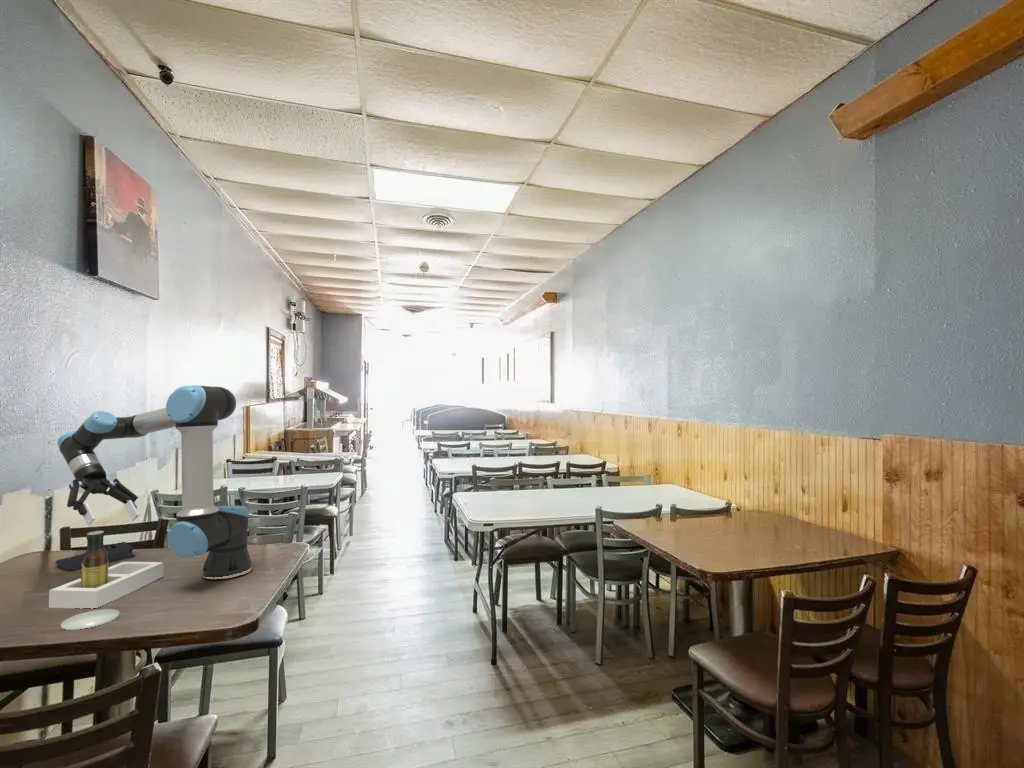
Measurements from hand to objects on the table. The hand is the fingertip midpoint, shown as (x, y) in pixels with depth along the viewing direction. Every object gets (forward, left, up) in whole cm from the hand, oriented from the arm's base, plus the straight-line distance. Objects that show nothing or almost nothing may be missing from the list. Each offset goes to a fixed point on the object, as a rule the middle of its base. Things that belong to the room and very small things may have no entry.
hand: (114, 519), depth 156 cm
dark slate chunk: (+29, -26, -22) cm, 45 cm away
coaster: (-13, +22, -22) cm, 34 cm away
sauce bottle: (-1, +8, -22) cm, 23 cm away
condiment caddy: (-1, +2, -22) cm, 22 cm away
